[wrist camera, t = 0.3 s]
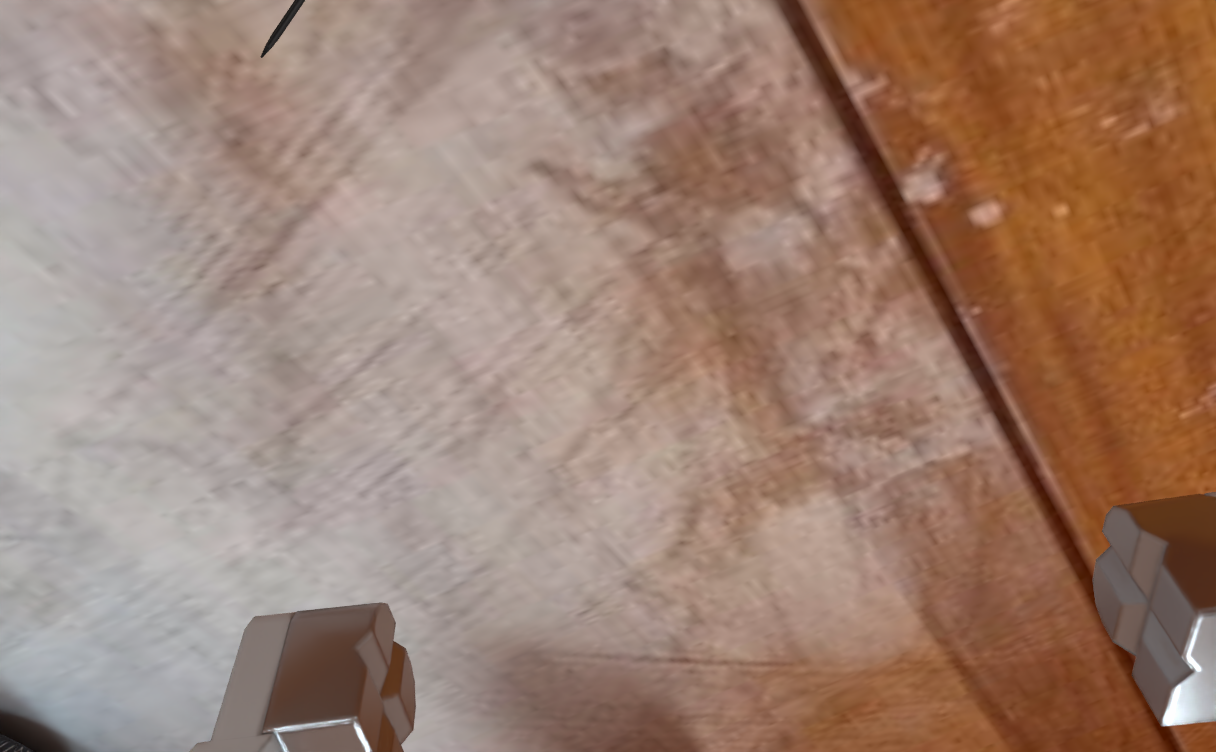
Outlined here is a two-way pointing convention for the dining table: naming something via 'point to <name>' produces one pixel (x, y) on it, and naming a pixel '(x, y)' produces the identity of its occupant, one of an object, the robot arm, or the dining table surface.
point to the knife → (282, 25)
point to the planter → (11, 745)
